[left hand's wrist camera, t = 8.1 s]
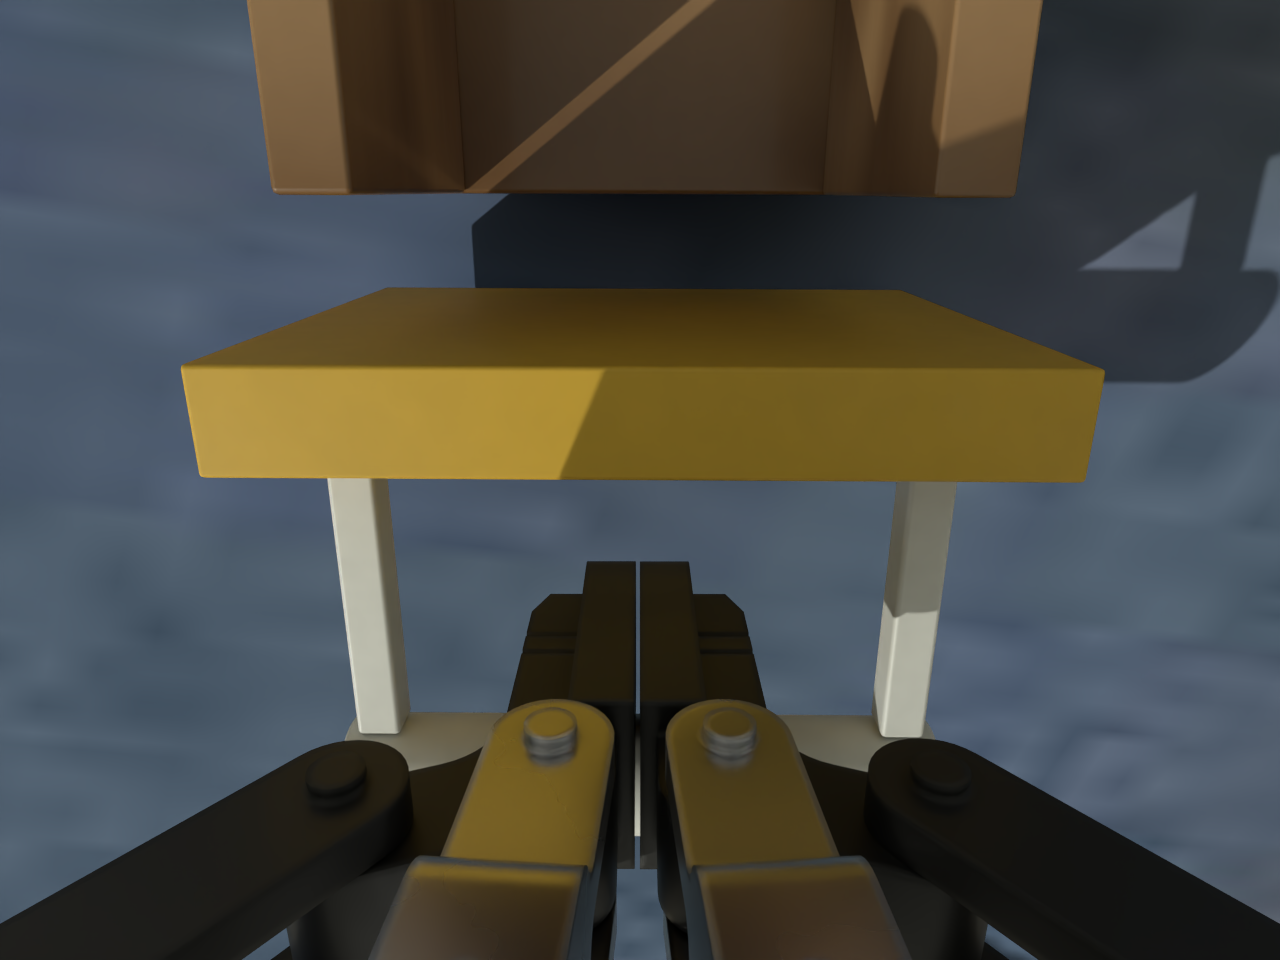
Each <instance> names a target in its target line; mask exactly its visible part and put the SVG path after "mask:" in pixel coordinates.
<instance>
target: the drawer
mask: <svg viewBox="0 0 1280 960" xmlns="http://www.w3.org/2000/svg"><path fill="white" fill-rule="evenodd" d="M247 4H248V12H249V19H250V27H251V34H252V42H253V50H254V57H255V65H256V72H257V80H258V88H259V95H260V103H261V110H262V118H263V125H264V133H265V141H266V148H267V156H268V163H269V171H270V179H271V186H272V189H273V192H274V193H277V194H279V195H383V194H448V193H514V194H750V195H853V196H894V197H936V198H1011V197H1013V196H1014V195H1015V193H1016V188H1017V181H1018V174H1019V167H1020V160H1021V153H1022V146H1023V139H1024V132H1025V125H1026V118H1027V111H1028V104H1029V97H1030V90H1031V83H1032V76H1033V69H1034V62H1035V54H1036V47H1037V40H1038V33H1039V26H1040V19H1041V12H1042V5H1043V0H247ZM181 372H182V378H183V384H184V389H185V395H186V401H187V406H188V412H189V418H190V423H191V429H192V435H193V440H194V446H195V451H196V457H197V463H198V468H199V474H200V476H202V477H213V478H327V479H328V487H329V495H330V503H331V511H332V519H333V527H334V535H335V543H336V551H337V559H338V567H339V575H340V583H341V591H342V599H343V607H344V616H345V624H346V632H347V640H348V648H349V656H350V664H351V672H352V680H353V688H354V696H355V704H356V712H357V717H356V718H355V719H354V721H353V722H352V724H351V726H350V728H349V730H348V733H347V735H346V738H345V741H350V740H369V741H376V742H380V743H383V744H387V745H389V746H391V747H393V748H395V749H396V750H397V751H399V752H400V753H401V754H402V755H403V757H404V758H405V759H406V761H407V764H408V767H409V771H412V770H417V769H421V768H426V767H430V766H435V765H439V764H443V763H447V762H450V761H454V760H457V759H459V758H462V757H465V756H467V755H469V754H471V753H473V752H475V751H476V750H478V749H480V748H481V747H483V746H484V743H485V741H486V738H487V735H488V733H489V731H490V729H491V727H492V726H493V725H494V724H495V722H496V721H497V720H498V719H499V718H501V717H502V716H503V715H504V714H506V713H452V712H409V711H410V700H409V690H408V680H407V670H406V660H405V650H404V640H403V630H402V620H401V609H400V599H399V589H398V579H397V569H396V559H395V549H394V539H393V529H392V519H391V509H390V499H389V489H388V479H557V480H729V481H897V486H896V495H895V504H894V513H893V522H892V531H891V540H890V549H889V558H888V567H887V576H886V585H885V594H884V604H883V613H882V622H881V631H880V640H879V649H878V658H877V667H876V676H875V685H874V694H873V703H872V715H777V716H778V717H779V718H781V719H782V720H783V721H784V722H785V724H786V725H787V726H788V727H789V729H790V731H791V733H792V735H793V738H794V741H795V743H796V746H797V748H798V751H799V752H801V753H803V754H805V755H807V756H809V757H811V758H814V759H817V760H819V761H822V762H826V763H830V764H834V765H838V766H843V767H847V768H852V769H856V770H860V771H865V772H868V765H869V762H870V759H871V757H872V756H873V755H874V753H875V752H876V751H877V750H879V749H880V748H881V747H883V746H884V745H886V744H888V743H891V742H894V741H897V740H903V739H910V738H924V739H934V740H935V737H934V735H933V732H932V730H931V728H930V726H929V725H928V723H927V722H926V721H925V716H926V709H927V702H928V694H929V687H930V679H931V672H932V665H933V657H934V650H935V642H936V635H937V627H938V620H939V613H940V605H941V598H942V590H943V583H944V576H945V568H946V561H947V553H948V546H949V539H950V531H951V524H952V516H953V509H954V502H955V494H956V487H957V482H1072V483H1079V482H1084V480H1085V478H1086V473H1087V468H1088V462H1089V457H1090V452H1091V446H1092V441H1093V436H1094V430H1095V425H1096V420H1097V414H1098V409H1099V404H1100V398H1101V393H1102V388H1103V382H1104V377H1105V371H1104V370H1103V369H1101V368H1099V367H1096V366H1094V365H1091V364H1088V363H1086V362H1083V361H1081V360H1078V359H1076V358H1073V357H1070V356H1068V355H1065V354H1063V353H1060V352H1058V351H1055V350H1053V349H1050V348H1047V347H1045V346H1042V345H1040V344H1037V343H1035V342H1032V341H1030V340H1027V339H1024V338H1022V337H1019V336H1017V335H1014V334H1012V333H1009V332H1006V331H1004V330H1001V329H999V328H996V327H994V326H991V325H989V324H986V323H983V322H981V321H978V320H976V319H973V318H971V317H968V316H966V315H963V314H960V313H958V312H955V311H953V310H950V309H948V308H945V307H943V306H940V305H937V304H935V303H932V302H930V301H927V300H925V299H922V298H919V297H917V296H914V295H912V294H909V293H907V292H904V291H902V290H788V289H578V288H385V289H382V290H380V291H377V292H374V293H372V294H369V295H366V296H364V297H361V298H358V299H356V300H353V301H350V302H348V303H345V304H342V305H340V306H337V307H334V308H332V309H329V310H326V311H324V312H321V313H318V314H316V315H313V316H310V317H308V318H305V319H303V320H300V321H297V322H295V323H292V324H289V325H287V326H284V327H281V328H279V329H276V330H273V331H271V332H268V333H265V334H263V335H260V336H257V337H255V338H252V339H249V340H247V341H244V342H241V343H239V344H236V345H233V346H231V347H228V348H225V349H223V350H220V351H217V352H215V353H212V354H209V355H207V356H204V357H201V358H199V359H196V360H193V361H191V362H188V363H186V364H183V365H182V367H181ZM635 836H640V714H636V744H635Z"/></svg>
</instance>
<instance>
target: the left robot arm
mask: <svg viewBox="0 0 1280 960" xmlns="http://www.w3.org/2000/svg"><path fill="white" fill-rule="evenodd" d="M635 744H636V561H587V565H586V572H585V579H584V587H583V594H550V595H549V596H548V597H547V598H546V599H545V600H544V601H543V602H542V603H541V604H540V605H539V606H537V607H536V608H535V609H534V610H533V611H532V614H531V618H530V622H529V626H528V630H527V636H526V638H525V642H524V646H523V654H521V658H520V662H519V666H518V670H517V674H516V678H515V682H514V687H513V691H512V695H511V699H510V703H509V707H508V711H507V713H506V714H504V715H503V716H502V717H501V718H499V719H498V720H497V721H496V722H495V724H494V725H493V726H492V727H491V729H490V731H489V733H488V735H487V738H486V741H485V743H484V746H483V747H481V748H480V749H478V750H476V751H475V752H473V753H471V754H469V755H467V756H465V757H462V758H459V759H457V760H454V761H450V762H447V763H443V764H439V765H435V766H430V767H426V768H421V769H417V770H412V771H409V767H408V764H407V761H406V759H405V758H404V757H403V755H402V754H401V753H400V752H399V751H397V750H396V749H395V748H393V747H391V746H389V745H387V744H383V743H380V742H376V741H369V740H350V741H342V742H336V743H332V744H328V745H324V746H321V747H319V748H316V749H313V750H311V751H309V752H307V753H305V754H303V755H301V756H299V757H297V758H295V759H293V760H292V761H290V762H288V763H286V764H284V765H283V766H281V767H279V768H277V769H276V770H274V771H272V772H270V773H268V774H267V775H265V776H263V777H261V778H259V779H258V780H256V781H254V782H252V783H251V784H249V785H247V786H245V787H243V788H242V789H240V790H238V791H236V792H234V793H233V794H231V795H229V796H227V797H226V798H224V799H222V800H220V801H218V802H217V803H215V804H213V805H211V806H210V807H208V808H206V809H204V810H202V811H201V812H199V813H197V814H195V815H193V816H192V817H190V818H188V819H186V820H185V821H183V822H181V823H179V824H177V825H176V826H174V827H172V828H170V829H168V830H167V831H165V832H163V833H161V834H160V835H158V836H156V837H154V838H152V839H151V840H149V841H147V842H145V843H144V844H142V845H140V846H138V847H136V848H135V849H133V850H131V851H129V852H127V853H126V854H124V855H122V856H120V857H119V858H117V859H115V860H113V861H111V862H110V863H108V864H106V865H104V866H102V867H101V868H99V869H97V870H95V871H94V872H92V873H90V874H88V875H86V876H85V877H83V878H81V879H79V880H78V881H76V882H74V883H72V884H70V885H69V886H67V887H65V888H63V889H61V890H60V891H58V892H56V893H54V894H53V895H51V896H49V897H47V898H45V899H44V900H42V901H40V902H38V903H36V904H35V905H33V906H31V907H29V908H28V909H26V910H24V911H22V912H20V913H19V914H17V915H15V916H13V917H12V918H10V919H8V920H6V921H4V922H3V923H1V924H0V960H242V959H243V958H245V957H246V956H247V955H249V954H250V953H252V952H253V951H254V950H256V949H257V948H259V947H260V946H261V945H263V944H264V943H266V942H267V941H268V940H270V939H271V938H273V937H274V936H275V935H277V934H278V933H280V932H281V931H282V930H284V929H285V928H287V933H288V938H289V943H290V946H289V947H287V948H286V949H285V950H283V951H282V952H281V953H279V954H278V955H277V956H275V957H274V958H273V959H271V960H613V958H614V949H615V941H616V933H617V908H616V888H617V869H635ZM640 869H657V880H658V897H659V902H660V905H661V908H662V910H663V933H664V941H665V949H666V958H667V960H1009V959H1007V958H1006V957H1005V956H1003V955H1002V954H1001V953H999V952H998V951H997V950H995V949H994V948H993V947H991V946H990V945H988V944H987V943H986V942H984V941H985V936H986V931H987V925H988V924H989V925H991V926H992V927H993V928H995V929H996V930H998V931H999V932H1000V933H1002V934H1003V935H1005V936H1006V937H1007V938H1009V939H1010V940H1012V941H1013V942H1014V943H1016V944H1017V945H1019V946H1020V947H1021V948H1023V949H1024V950H1026V951H1027V952H1028V953H1030V954H1031V955H1032V956H1034V957H1035V958H1037V959H1038V960H1280V924H1279V923H1277V922H1276V921H1274V920H1272V919H1270V918H1268V917H1267V916H1265V915H1263V914H1261V913H1260V912H1258V911H1256V910H1254V909H1252V908H1251V907H1249V906H1247V905H1245V904H1243V903H1242V902H1240V901H1238V900H1236V899H1235V898H1233V897H1231V896H1229V895H1227V894H1226V893H1224V892H1222V891H1220V890H1219V889H1217V888H1215V887H1213V886H1211V885H1210V884H1208V883H1206V882H1204V881H1202V880H1201V879H1199V878H1197V877H1195V876H1194V875H1192V874H1190V873H1188V872H1186V871H1185V870H1183V869H1181V868H1179V867H1177V866H1176V865H1174V864H1172V863H1170V862H1169V861H1167V860H1165V859H1163V858H1161V857H1160V856H1158V855H1156V854H1154V853H1153V852H1151V851H1149V850H1147V849H1145V848H1144V847H1142V846H1140V845H1138V844H1136V843H1135V842H1133V841H1131V840H1129V839H1128V838H1126V837H1124V836H1122V835H1120V834H1119V833H1117V832H1115V831H1113V830H1111V829H1110V828H1108V827H1106V826H1104V825H1103V824H1101V823H1099V822H1097V821H1095V820H1094V819H1092V818H1090V817H1088V816H1087V815H1085V814H1083V813H1081V812H1079V811H1078V810H1076V809H1074V808H1072V807H1070V806H1069V805H1067V804H1065V803H1063V802H1062V801H1060V800H1058V799H1056V798H1054V797H1053V796H1051V795H1049V794H1047V793H1045V792H1044V791H1042V790H1040V789H1038V788H1037V787H1035V786H1033V785H1031V784H1029V783H1028V782H1026V781H1024V780H1022V779H1021V778H1019V777H1017V776H1015V775H1013V774H1012V773H1010V772H1008V771H1006V770H1004V769H1003V768H1001V767H999V766H997V765H996V764H994V763H992V762H990V761H988V760H987V759H985V758H983V757H981V756H979V755H978V754H976V753H974V752H972V751H970V750H968V749H966V748H963V747H960V746H958V745H955V744H952V743H948V742H944V741H940V740H934V739H924V738H910V739H903V740H897V741H894V742H891V743H888V744H886V745H884V746H883V747H881V748H880V749H879V750H877V751H876V752H875V753H874V755H873V756H872V757H871V759H870V762H869V765H868V772H865V771H860V770H856V769H852V768H847V767H843V766H838V765H834V764H830V763H826V762H822V761H819V760H817V759H814V758H811V757H809V756H807V755H805V754H803V753H801V752H799V751H798V748H797V746H796V743H795V741H794V738H793V735H792V733H791V731H790V729H789V727H788V726H787V725H786V724H785V722H784V721H783V720H782V719H781V718H779V717H778V716H777V715H776V714H774V713H773V712H771V711H769V710H768V709H766V704H765V700H764V696H763V692H762V688H761V683H760V679H759V675H758V671H757V666H756V662H755V658H754V654H753V653H752V645H751V641H750V637H749V636H748V628H747V624H746V620H745V616H744V612H743V611H742V610H741V609H740V608H739V607H738V606H737V605H736V604H735V603H734V602H733V601H732V600H731V599H730V598H729V597H727V596H726V595H725V594H693V591H692V583H691V575H690V567H689V562H640Z"/></svg>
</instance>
